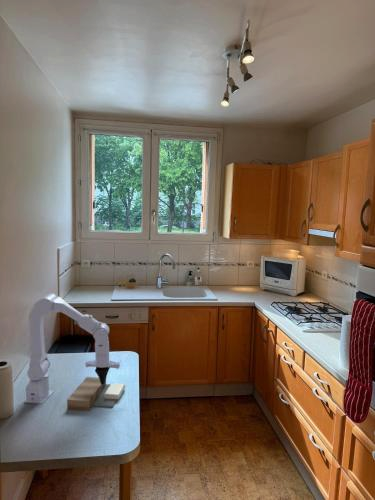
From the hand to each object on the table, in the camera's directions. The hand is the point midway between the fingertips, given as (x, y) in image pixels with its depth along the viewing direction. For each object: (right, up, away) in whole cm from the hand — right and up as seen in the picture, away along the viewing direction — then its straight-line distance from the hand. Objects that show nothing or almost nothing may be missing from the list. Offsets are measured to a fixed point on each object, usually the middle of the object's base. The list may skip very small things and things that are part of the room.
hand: (103, 383), depth 147 cm
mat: (+3, -5, -1) cm, 6 cm away
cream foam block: (+5, -3, 0) cm, 6 cm away
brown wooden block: (-6, -5, -2) cm, 8 cm away
